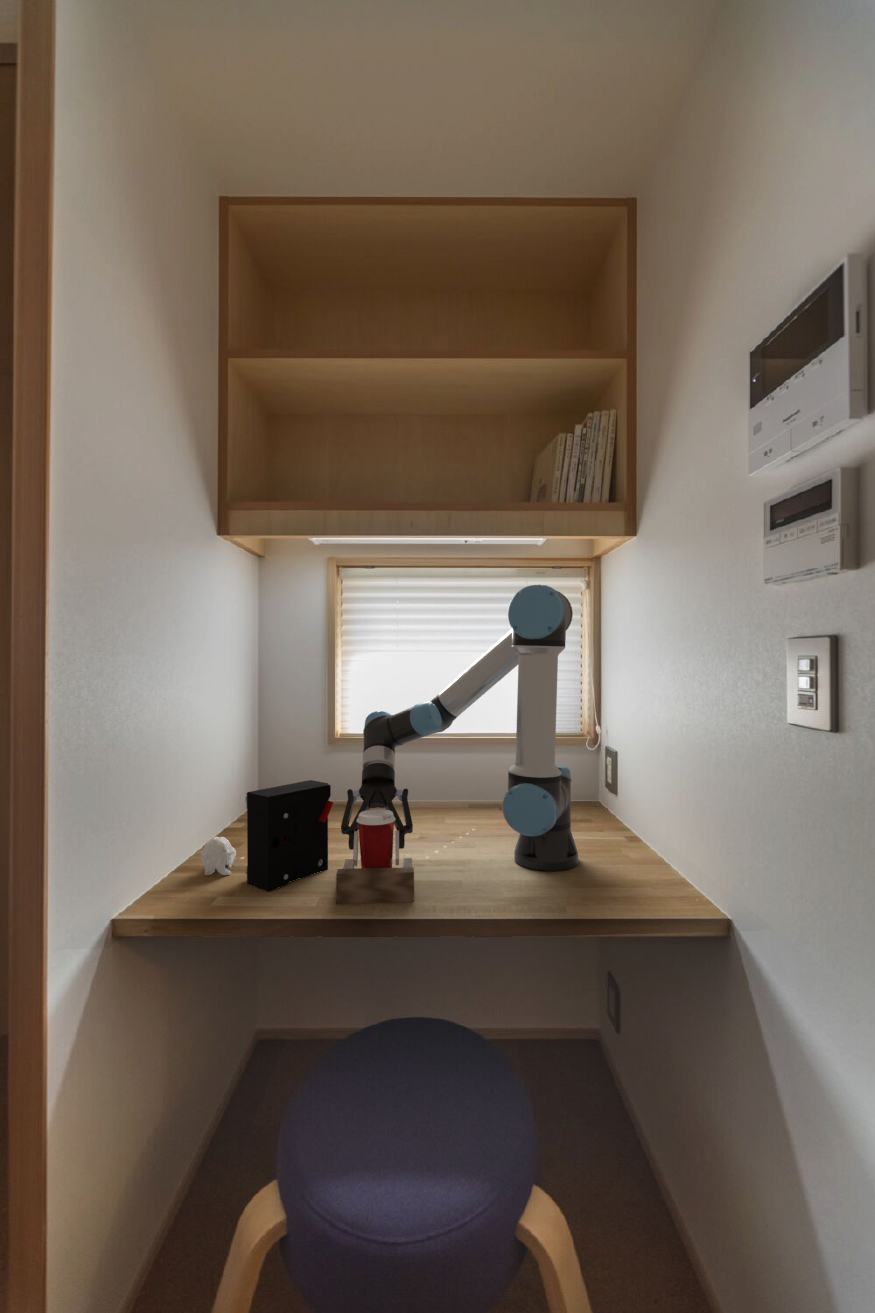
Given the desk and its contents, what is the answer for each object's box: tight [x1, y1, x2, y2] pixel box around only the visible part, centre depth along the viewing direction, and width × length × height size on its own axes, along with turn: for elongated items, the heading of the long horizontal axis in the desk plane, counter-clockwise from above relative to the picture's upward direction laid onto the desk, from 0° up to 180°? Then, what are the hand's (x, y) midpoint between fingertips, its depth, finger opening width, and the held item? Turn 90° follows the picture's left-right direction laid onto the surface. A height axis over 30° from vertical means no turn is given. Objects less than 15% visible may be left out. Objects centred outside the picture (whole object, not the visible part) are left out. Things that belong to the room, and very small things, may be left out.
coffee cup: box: [357, 808, 396, 868], centre depth 139 cm, size 8×8×15 cm
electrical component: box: [245, 779, 334, 893], centre depth 147 cm, size 18×10×20 cm, turn 141°
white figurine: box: [200, 836, 238, 877], centre depth 151 cm, size 6×8×12 cm
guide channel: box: [335, 857, 415, 905], centre depth 143 cm, size 16×22×6 cm
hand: (376, 862), depth 136 cm, fingers closed on coffee cup, 8 cm apart
